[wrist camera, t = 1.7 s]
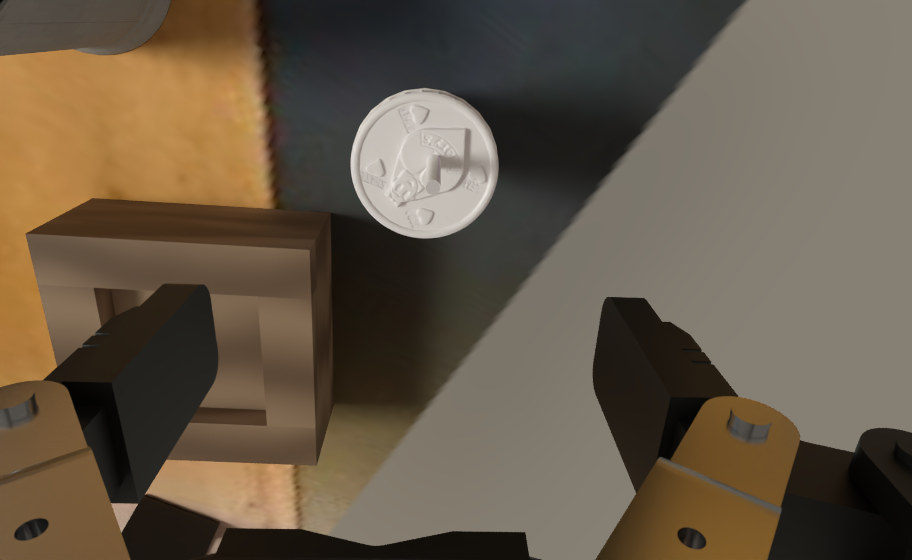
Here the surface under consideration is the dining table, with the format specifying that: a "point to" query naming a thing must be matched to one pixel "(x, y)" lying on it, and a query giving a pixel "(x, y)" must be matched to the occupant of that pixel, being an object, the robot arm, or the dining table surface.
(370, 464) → the dining table surface
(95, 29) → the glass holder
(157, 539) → the phone stand
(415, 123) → the smoothie
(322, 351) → the walnut tray
